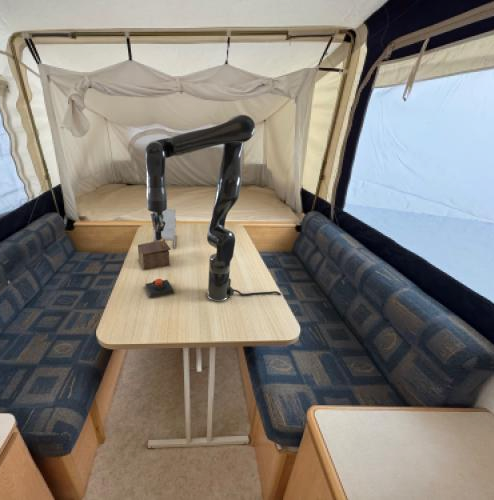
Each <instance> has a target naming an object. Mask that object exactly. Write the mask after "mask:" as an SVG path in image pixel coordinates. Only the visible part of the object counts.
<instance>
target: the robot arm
mask: <svg viewBox="0 0 494 500" xmlns="http://www.w3.org/2000/svg"><path fill="white" fill-rule="evenodd" d="M255 132H256V123H255V120H254V119H253V118H252V117H250V116H249V115H246V114H238V115H234V116H232V117H230V118H229V119H228V120H227V121H225V122H222V123H221V124H218V125H215V126H211V127H206V128H201V129H196V130H192V131H186V132H183V133H180V134H176V135H174V136H171V137H166V138H161V139H156V140H152V141H150V142H148V143H146V145H145V149H144V153H145V154H144V155H145V166H146V202H147V211H149V212H152V213H150V217H151V218H150V219H151V222H152V223H151V224H152V227H154V230H153V231H155V238H156V240H161V239H162V237H161V231H163V230H164V227H165V221H164V222H163V219H164V215H163V213H162V212H163V211H165V210H166V209H168V200H167V199H168V193H167V183H166V182H167V180H166V178H167V177H166V159H169V158H172V157H181V156H185V155H189V154H193V153H197V152H199V151H203V150H206V149H209V148H212V147H213V148H214V147H216V146H221V145H223V146H222V147H223V149H222V157H221V160H220V161H221V162H220V167H219V172H218V178H217V182H216V190H215V197H214V198H215V199H214V204H213V209H212V212H211V213H212V214H211V218H210V222H209V226H208V229H207V234H206V241H207V244H208V245H210V246H211V247H213V248H214V249H216V253H213V254H211V255H210V256H209V261H208V262H209V263H208V279H207V280H208V281H207V288H206V292H207V298H208V299H209V300H211V301H213V302H219V303H220V302H224V301H226V300H227V299H228V298H230V297H232V296H234V294H235V293H238V294H239V295H240V296H244V297H247V296H252V295H272V294H277V295H279V296H281V295H282V293H281V292H279V291H276V290H273V291H272V290H271V291H258V292H249V293H243V292H241V291H240V290H238V289H234V288H233V287H232V286H231V284H232V279H231V277H230V272H231V262H232V260H233V258H234V252H235V246H236V235H235V233H234V232H233V231H232V230H230V229H227V228H225V227H226V226H225V225H226V219H227V216H228V214H229V213H230V211H231V209H233V207H234V206H235V205H236V203H237V201H238V199H239V197H240V193H241V188H242V187H241V186H242V177H243V175H242V172H243V171H242V152H243V149H244V145H245V143H246V142H248V141H249V140H250V139H252V137H253V136H254V134H255ZM156 240H155V241H156ZM234 292H235V293H234Z"/></svg>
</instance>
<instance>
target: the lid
mask: <svg viewBox="0 0 494 500" xmlns="http://www.w3.org/2000/svg"><path fill="white" fill-rule="evenodd" d="M161 237H162V236H161ZM155 241H156V240H155ZM155 241H154V242H153V241H152V242H146V243H141V244H137V248H138V247H139V249H140V251H141V253H142V255H147V254H152V253H157V252H162V251H167V250H168V251H171V247H170V246H169V245H168V243H167V242H166V241H165V239H164V238H163V237H162V239H161V241H156V242H155Z"/></svg>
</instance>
